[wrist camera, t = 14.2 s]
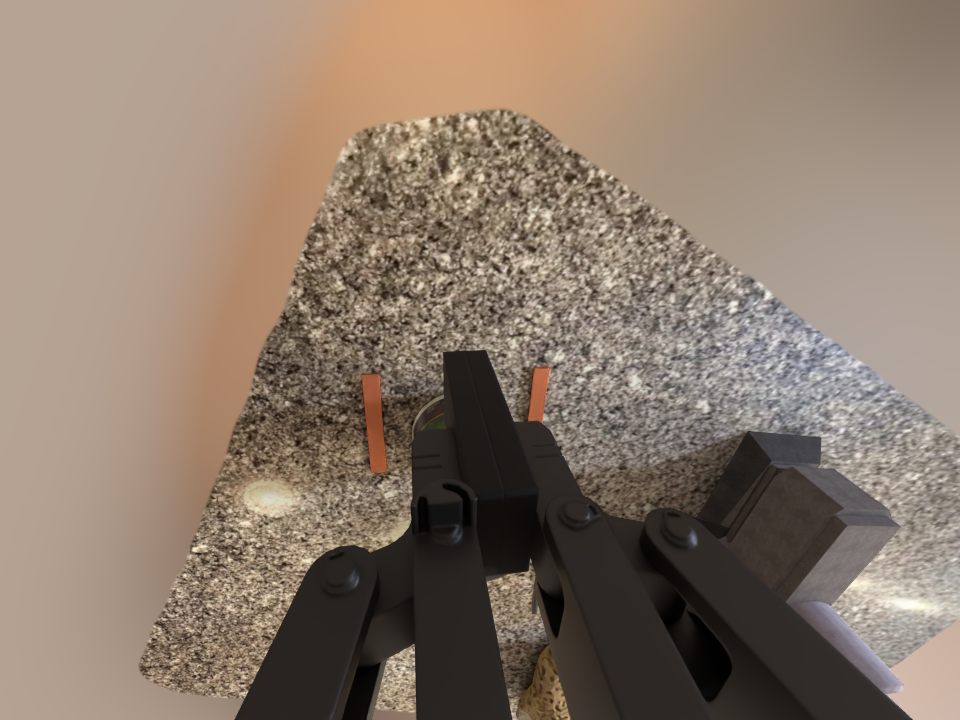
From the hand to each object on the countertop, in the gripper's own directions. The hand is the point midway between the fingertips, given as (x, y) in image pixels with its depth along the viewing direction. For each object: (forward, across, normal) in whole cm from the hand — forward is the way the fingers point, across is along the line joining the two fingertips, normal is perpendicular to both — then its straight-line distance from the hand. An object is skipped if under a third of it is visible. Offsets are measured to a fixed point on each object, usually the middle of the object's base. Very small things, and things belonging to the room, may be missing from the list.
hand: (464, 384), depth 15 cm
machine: (+22, +42, -39) cm, 61 cm away
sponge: (+22, +18, -69) cm, 75 cm away
